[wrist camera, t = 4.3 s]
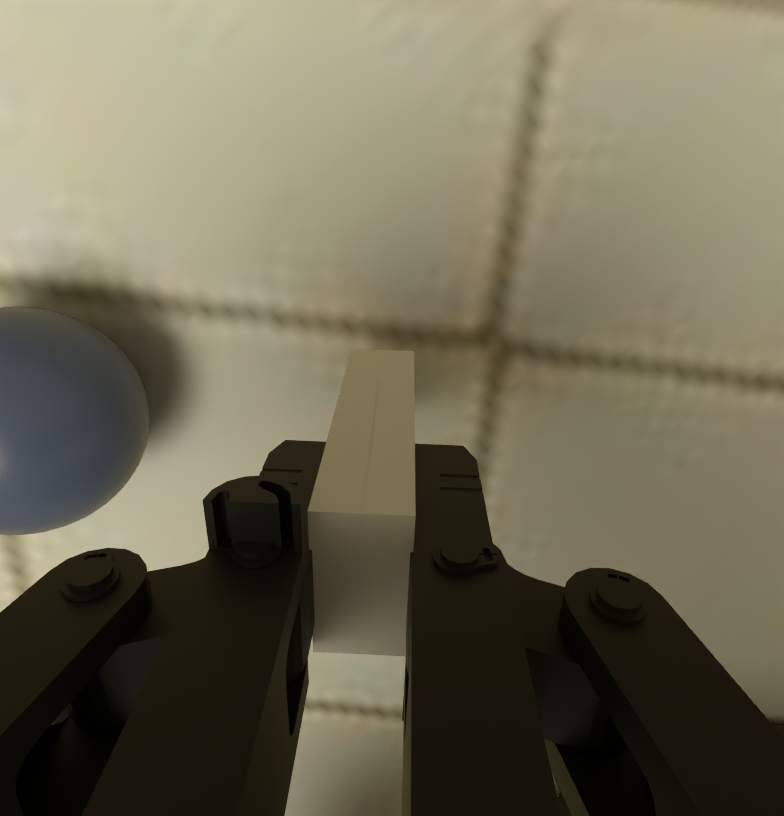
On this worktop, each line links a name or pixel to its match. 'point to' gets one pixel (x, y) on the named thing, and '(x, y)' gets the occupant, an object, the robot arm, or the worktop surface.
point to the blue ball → (63, 420)
